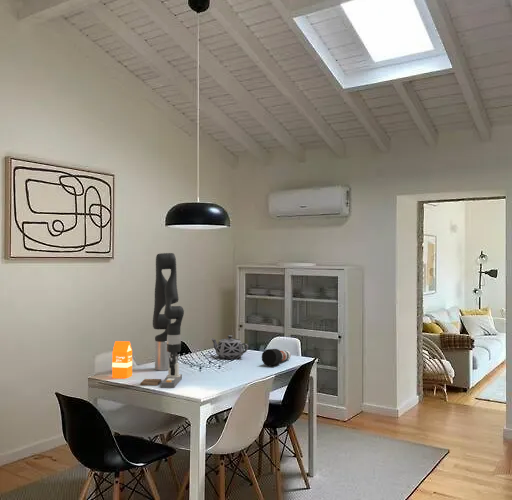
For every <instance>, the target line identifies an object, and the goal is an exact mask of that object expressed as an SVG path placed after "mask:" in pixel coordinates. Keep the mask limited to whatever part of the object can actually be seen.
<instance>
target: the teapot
mask: <svg viewBox="0 0 512 500" xmlns="http://www.w3.org/2000/svg"><path fill="white" fill-rule="evenodd" d="M210 340H211V341H212V343H213V348H214V350H215V354H216V355H217V357H219V358H220V357H221V358H220V359H224V358H226V360H233V359H234V360H235V359H239V358H241V357H242V356H243V355H244V354H245V353H246V352H247V351H248V350H249V345H248V343H246V342H245V343H244V342H242V341H241V340H240V339H238V338H233V335H227V338H222V339H219V341H218V343H217V340H216V339H215V338H210ZM244 346H245V348H244Z"/></svg>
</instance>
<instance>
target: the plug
mask: <svg viewBox="0 0 512 500" xmlns="http://www.w3.org/2000/svg"><path fill="white" fill-rule="evenodd" d="M169 366H170V365H169V364H168V370H167V372H168V374H167V375H168V376H179V374H180V363H179V362H178V363H176V364H175V375H171V368H170V367H169ZM172 366H173V364H172Z"/></svg>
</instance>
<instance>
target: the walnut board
mask: <svg viewBox="0 0 512 500" xmlns="http://www.w3.org/2000/svg"><path fill="white" fill-rule="evenodd" d="M161 382H162V378H144V379H143V380H142V381H140V384H139V385H140V386H158V385H160V384H161Z"/></svg>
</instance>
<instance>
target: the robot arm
mask: <svg viewBox="0 0 512 500" xmlns="http://www.w3.org/2000/svg"><path fill="white" fill-rule="evenodd" d="M163 270H170V275H169V276H168V277H169V278H168V280H167V279H166V277H165V276H164V274H163ZM177 277H178V276H177V260H176V255H175V253H173V252H166V253H165V252H162V253H161V252H160V253H157V254H156V257H155V283H154V284H155V285H154V308H153V316H152V327H153V329H154V330H164V331H163V332H161V333H160V334H157V335H155V336H154V370H155V371H168V364H169V365H170V366H169V367H170V368H171V375H175V364H176V363H179V354H178V353H179V352H181V350H182V349H181V348H182V341H181V340H182V339H181V338H182V337H181V325H182V321H183V318H184V313H185V310H184V308H183V306H181V305H173V304H177V303H178V302H179V294H178V293H179V292H178V285H177V284H178V283H177ZM163 308H164V312H163V313H161V311H162V310H163ZM172 320H175V321H174V322H172ZM172 364H173V366H172Z"/></svg>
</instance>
